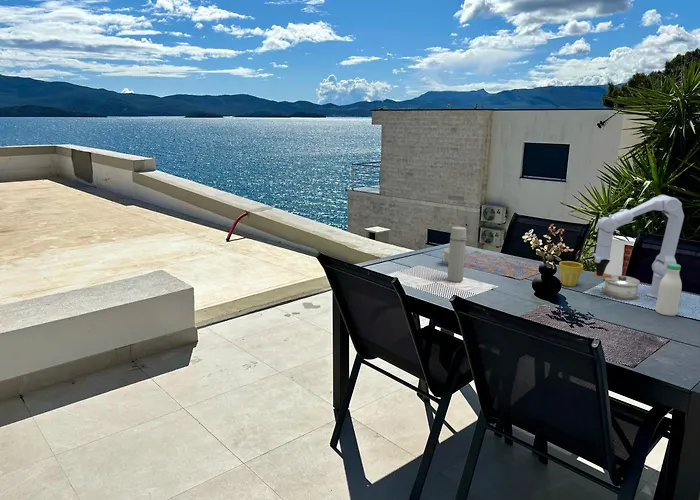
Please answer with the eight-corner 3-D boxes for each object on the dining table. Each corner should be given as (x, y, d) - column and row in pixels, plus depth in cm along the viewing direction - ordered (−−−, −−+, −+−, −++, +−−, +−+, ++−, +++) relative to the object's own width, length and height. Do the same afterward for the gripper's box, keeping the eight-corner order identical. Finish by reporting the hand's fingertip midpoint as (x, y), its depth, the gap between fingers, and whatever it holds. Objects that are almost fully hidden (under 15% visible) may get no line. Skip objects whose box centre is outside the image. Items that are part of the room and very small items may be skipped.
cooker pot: (643, 299, 233) (645, 286, 232) (615, 300, 232) (617, 287, 230) (617, 286, 251) (619, 274, 249) (591, 287, 249) (592, 275, 248)
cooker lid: (644, 282, 237) (645, 277, 237) (632, 288, 228) (633, 283, 228) (600, 273, 250) (601, 268, 250) (587, 278, 241) (588, 273, 241)
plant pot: (582, 288, 247) (585, 267, 245) (558, 286, 249) (561, 265, 247) (578, 282, 257) (580, 261, 255) (555, 280, 259) (557, 260, 257)
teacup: (457, 260, 290) (458, 246, 288) (472, 266, 279) (473, 251, 277) (433, 263, 284) (434, 248, 282) (447, 269, 273) (448, 254, 271)
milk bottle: (676, 317, 213) (685, 268, 208) (654, 313, 217) (662, 265, 212) (677, 312, 219) (686, 264, 214) (655, 308, 223) (663, 260, 218)
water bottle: (456, 283, 250) (460, 230, 244) (443, 279, 255) (446, 227, 249) (469, 280, 256) (473, 228, 250) (455, 276, 261) (459, 225, 255)
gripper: (599, 241, 243) (595, 270, 246) (589, 246, 232) (584, 277, 235) (616, 243, 238) (611, 273, 241) (606, 249, 227) (602, 280, 231)
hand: (599, 275), depth 238 cm, fingers closed
